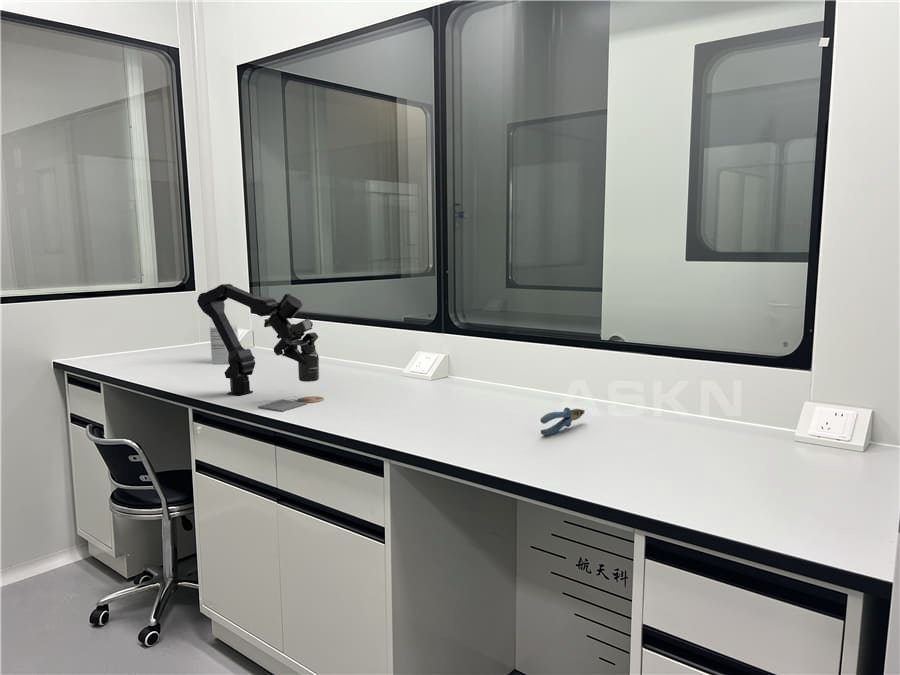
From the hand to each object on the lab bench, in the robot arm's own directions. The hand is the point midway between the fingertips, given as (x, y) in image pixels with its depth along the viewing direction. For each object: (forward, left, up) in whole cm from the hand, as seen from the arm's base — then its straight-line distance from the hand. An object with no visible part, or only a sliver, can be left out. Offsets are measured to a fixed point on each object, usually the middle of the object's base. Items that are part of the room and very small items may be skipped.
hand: (311, 361), depth 226 cm
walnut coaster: (-1, 0, -13) cm, 13 cm away
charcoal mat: (-3, -11, -13) cm, 18 cm away
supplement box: (-89, +39, -13) cm, 98 cm away
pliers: (+88, +6, -14) cm, 89 cm away
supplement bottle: (-1, 0, -7) cm, 7 cm away
